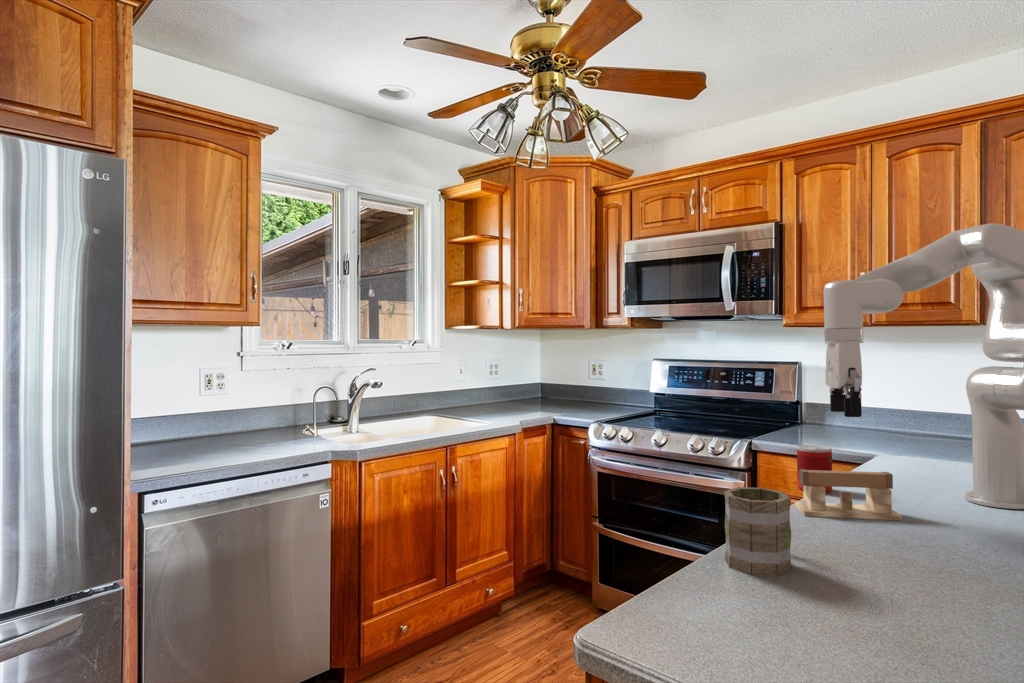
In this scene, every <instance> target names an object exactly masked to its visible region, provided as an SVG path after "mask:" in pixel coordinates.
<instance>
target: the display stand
mask: <svg viewBox="0 0 1024 683" xmlns="http://www.w3.org/2000/svg"><path fill="white" fill-rule="evenodd" d="M802 492H803V494H802V495H803V497H802V498H803V501H795V505H794V506H795V507H796V509H798V511H799V512H800V513H801V514H802V515H803V516H804V517H819V518H821V517H823V518H839V519H840V518H842V519H843V518H845V519H862V520H863V519H865V520H866V519H867V520H886V521H887V520H889V521H902V518H903V516H902V515H901V514H900V513H898V512H897V511H895V510H894V509H893V507H892V506H893V505H892V503H893V502H892V500H893V499H892V496H893V495H892V489H887V488H865V504H859V503H858V504H856V503H855V504H854V503H853V493H852V492H850V491H839V503H834V502H833V503H830V502H829V503H827V502H826V494H825V488H824V487H823V486H803V491H802Z"/></svg>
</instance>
